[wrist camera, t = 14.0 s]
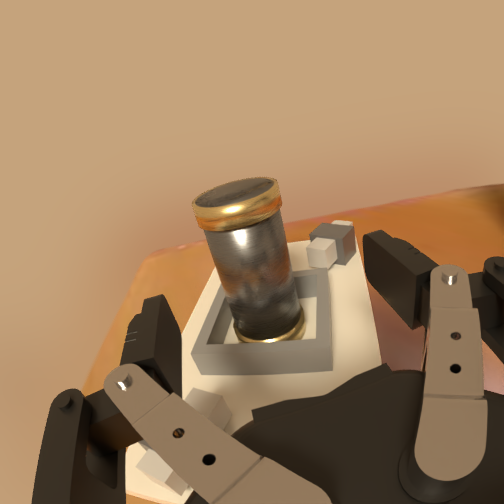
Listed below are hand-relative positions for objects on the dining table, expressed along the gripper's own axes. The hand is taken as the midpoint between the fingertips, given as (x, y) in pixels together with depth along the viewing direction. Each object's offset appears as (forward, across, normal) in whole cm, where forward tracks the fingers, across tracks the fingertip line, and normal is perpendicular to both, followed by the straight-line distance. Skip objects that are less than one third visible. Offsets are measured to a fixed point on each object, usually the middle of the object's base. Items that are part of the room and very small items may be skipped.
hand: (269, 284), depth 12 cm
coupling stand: (+7, 0, +9) cm, 11 cm away
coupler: (+7, 0, +8) cm, 10 cm away
